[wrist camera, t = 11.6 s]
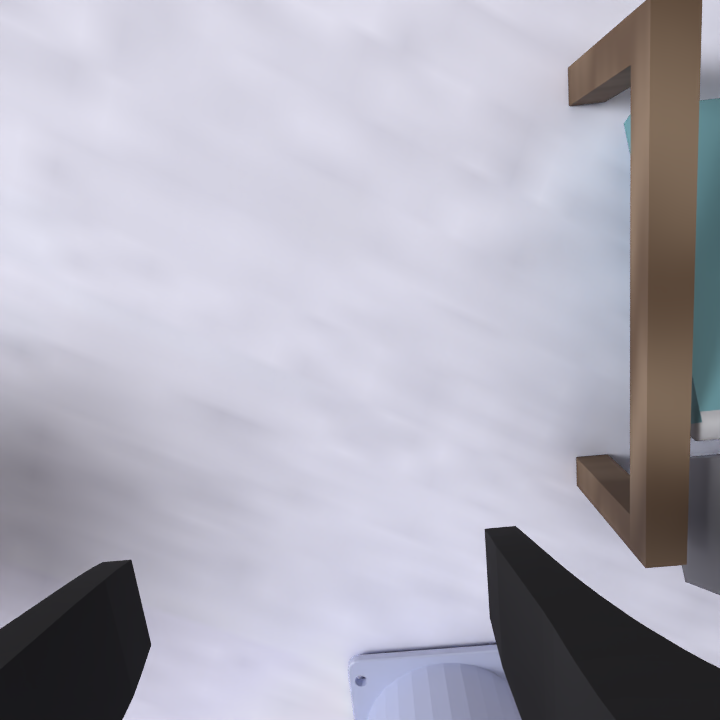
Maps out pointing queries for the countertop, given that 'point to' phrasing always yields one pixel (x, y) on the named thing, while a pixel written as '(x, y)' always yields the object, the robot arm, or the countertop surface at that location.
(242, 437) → the countertop surface
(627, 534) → the frame
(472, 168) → the countertop surface
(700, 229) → the trapdoor
